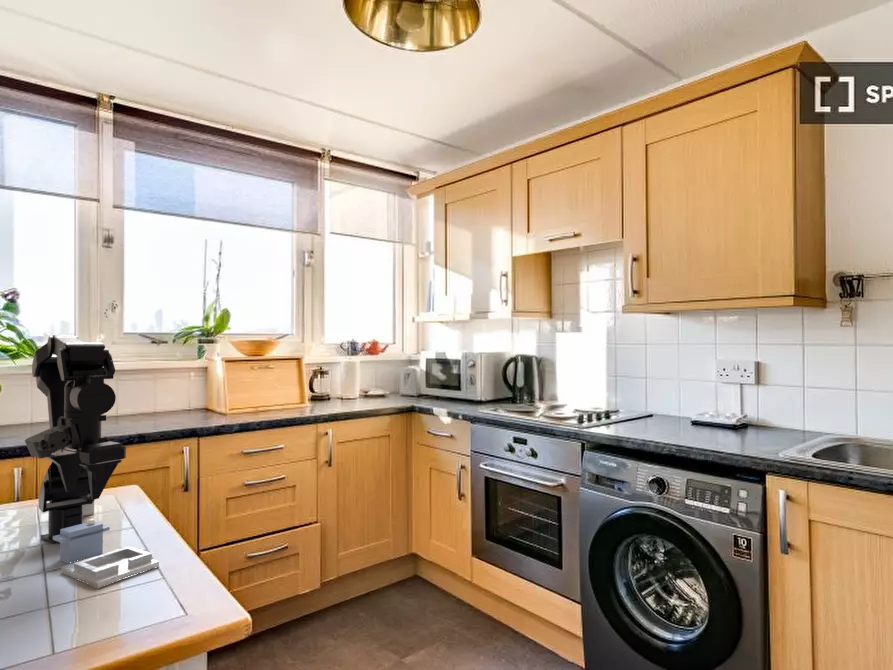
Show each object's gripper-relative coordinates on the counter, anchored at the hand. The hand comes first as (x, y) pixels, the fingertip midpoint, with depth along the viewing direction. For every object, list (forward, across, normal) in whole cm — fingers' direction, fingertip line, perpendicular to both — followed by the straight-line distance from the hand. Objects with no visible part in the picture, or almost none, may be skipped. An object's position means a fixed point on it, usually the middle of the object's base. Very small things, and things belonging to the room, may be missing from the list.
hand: (82, 495), depth 101 cm
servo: (+11, 0, 0) cm, 11 cm away
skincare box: (+12, -28, +12) cm, 33 cm away
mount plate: (+11, +11, -1) cm, 16 cm away
